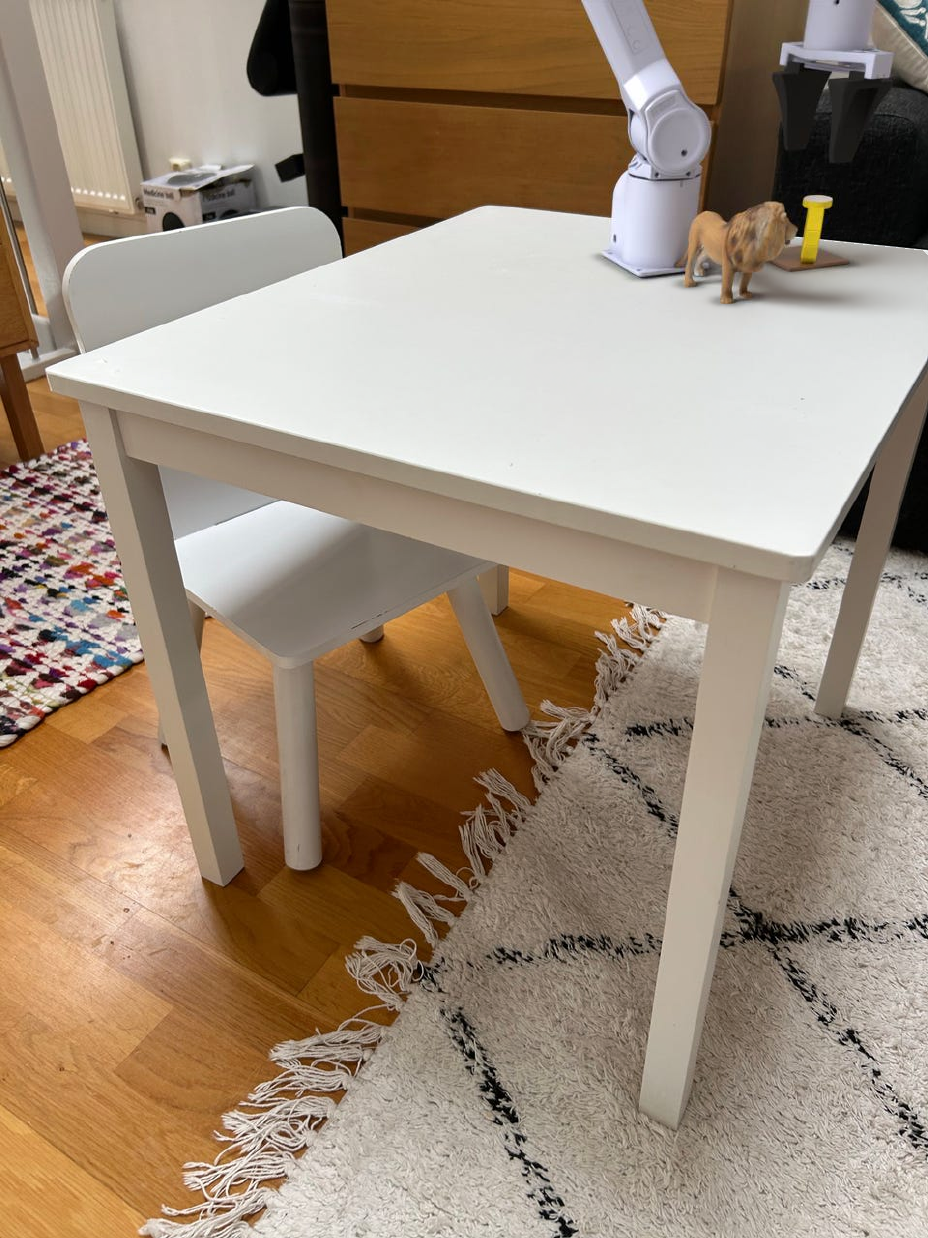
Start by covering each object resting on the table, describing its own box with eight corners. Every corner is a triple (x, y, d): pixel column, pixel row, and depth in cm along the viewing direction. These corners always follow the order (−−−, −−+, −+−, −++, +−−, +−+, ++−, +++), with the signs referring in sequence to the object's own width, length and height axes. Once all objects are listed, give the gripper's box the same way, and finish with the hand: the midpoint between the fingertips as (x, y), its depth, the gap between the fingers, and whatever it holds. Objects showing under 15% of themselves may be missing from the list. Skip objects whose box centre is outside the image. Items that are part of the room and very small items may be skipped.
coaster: (752, 254, 102) (752, 251, 102) (809, 247, 104) (810, 244, 104) (789, 271, 97) (789, 268, 97) (849, 263, 98) (849, 260, 98)
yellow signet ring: (794, 250, 102) (803, 190, 98) (821, 252, 101) (832, 191, 98) (793, 266, 97) (803, 203, 94) (821, 267, 96) (833, 204, 93)
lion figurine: (794, 305, 88) (811, 201, 83) (750, 316, 86) (765, 210, 81) (688, 269, 99) (698, 175, 94) (647, 278, 97) (655, 182, 92)
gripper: (936, -9, 82) (899, 163, 90) (834, -14, 93) (809, 140, 101) (865, -6, 80) (834, 170, 88) (770, -10, 92) (750, 146, 100)
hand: (817, 155), depth 95 cm, fingers open, 7 cm apart
